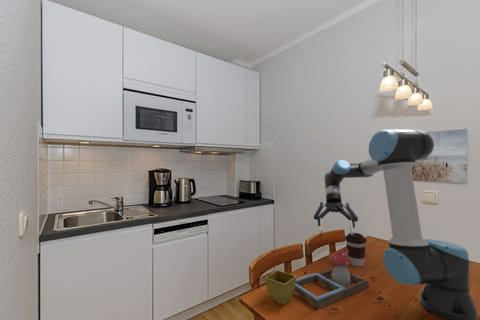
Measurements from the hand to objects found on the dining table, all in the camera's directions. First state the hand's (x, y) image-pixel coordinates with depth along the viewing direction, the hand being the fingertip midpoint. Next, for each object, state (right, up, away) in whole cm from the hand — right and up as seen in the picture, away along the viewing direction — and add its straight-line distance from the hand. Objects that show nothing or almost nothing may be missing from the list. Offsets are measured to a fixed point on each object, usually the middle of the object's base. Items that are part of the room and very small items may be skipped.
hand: (336, 232), depth 112 cm
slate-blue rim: (-15, -16, -17) cm, 28 cm away
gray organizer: (-9, -19, -14) cm, 25 cm away
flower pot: (-30, -19, -21) cm, 42 cm away
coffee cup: (+14, -19, +9) cm, 25 cm away
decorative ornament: (-3, -19, -11) cm, 22 cm away
